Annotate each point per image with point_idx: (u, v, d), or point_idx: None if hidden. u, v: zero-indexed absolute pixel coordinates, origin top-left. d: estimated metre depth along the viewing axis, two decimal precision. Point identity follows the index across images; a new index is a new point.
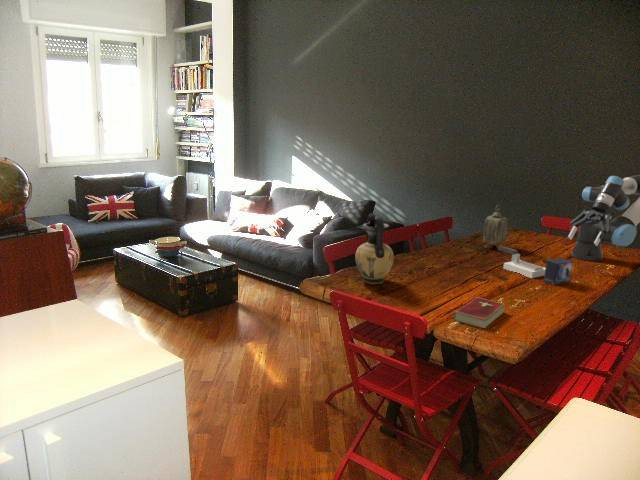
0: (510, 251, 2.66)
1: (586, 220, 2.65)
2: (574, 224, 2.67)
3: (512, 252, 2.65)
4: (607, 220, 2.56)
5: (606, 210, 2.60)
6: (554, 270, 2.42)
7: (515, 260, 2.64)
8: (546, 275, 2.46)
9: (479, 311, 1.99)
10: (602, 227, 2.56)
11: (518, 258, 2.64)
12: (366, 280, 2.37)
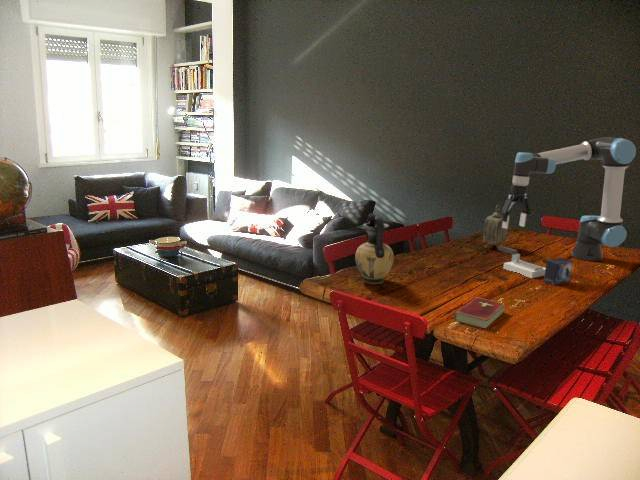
0: (510, 251, 2.66)
1: (521, 204, 2.64)
2: (522, 211, 2.69)
3: (512, 252, 2.65)
4: None
5: (513, 190, 2.59)
6: (554, 270, 2.42)
7: (515, 260, 2.64)
8: (546, 275, 2.46)
9: (480, 311, 1.99)
10: None
11: (518, 258, 2.64)
12: (366, 280, 2.37)
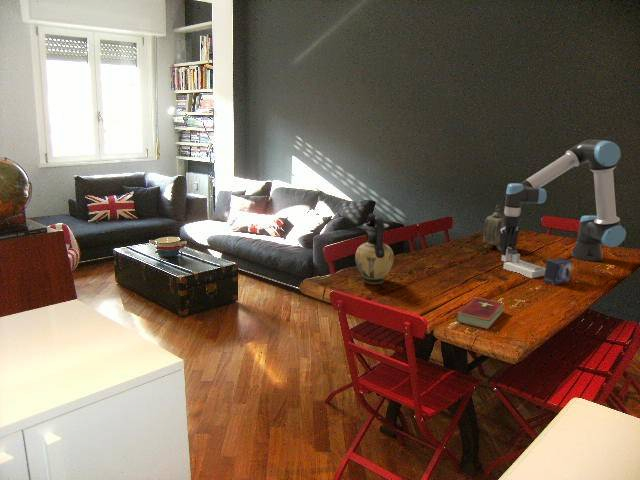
0: (510, 251, 2.66)
1: (510, 235, 2.68)
2: None
3: (512, 252, 2.65)
4: None
5: (505, 221, 2.64)
6: (554, 270, 2.42)
7: (515, 260, 2.64)
8: (546, 275, 2.46)
9: (481, 312, 1.98)
10: None
11: (518, 258, 2.64)
12: (366, 280, 2.37)
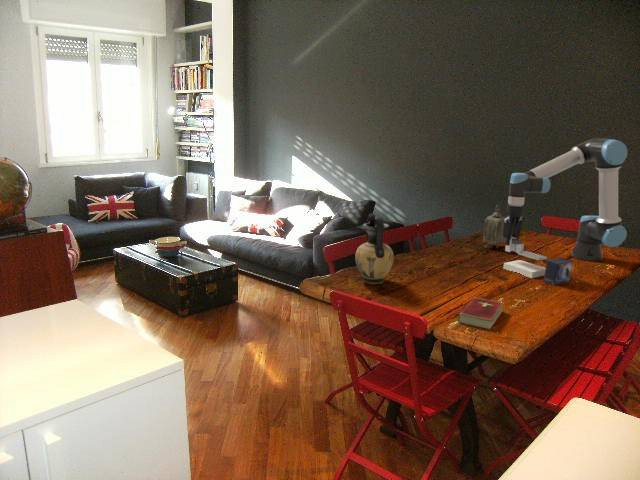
0: (514, 241, 2.64)
1: (514, 225, 2.65)
2: None
3: (516, 242, 2.63)
4: None
5: (508, 211, 2.61)
6: (554, 270, 2.42)
7: (519, 250, 2.62)
8: (546, 275, 2.46)
9: (482, 312, 1.98)
10: None
11: (522, 248, 2.61)
12: (366, 280, 2.37)
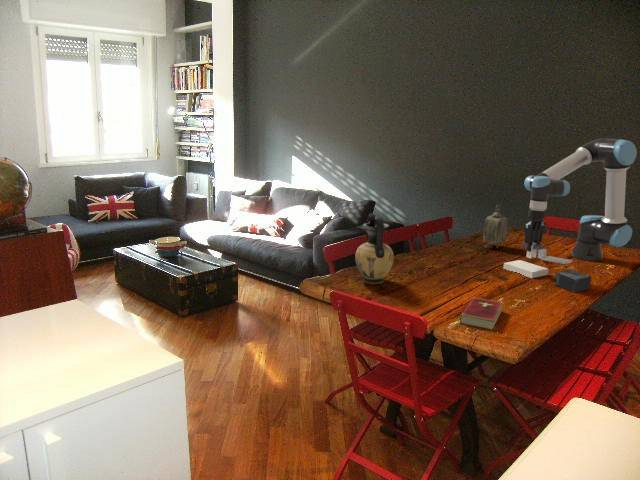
0: (536, 247, 2.53)
1: (536, 231, 2.55)
2: None
3: (538, 247, 2.52)
4: None
5: (530, 215, 2.51)
6: (567, 287, 2.36)
7: (542, 255, 2.51)
8: (561, 277, 2.38)
9: (483, 312, 1.98)
10: None
11: (545, 253, 2.51)
12: (366, 280, 2.37)
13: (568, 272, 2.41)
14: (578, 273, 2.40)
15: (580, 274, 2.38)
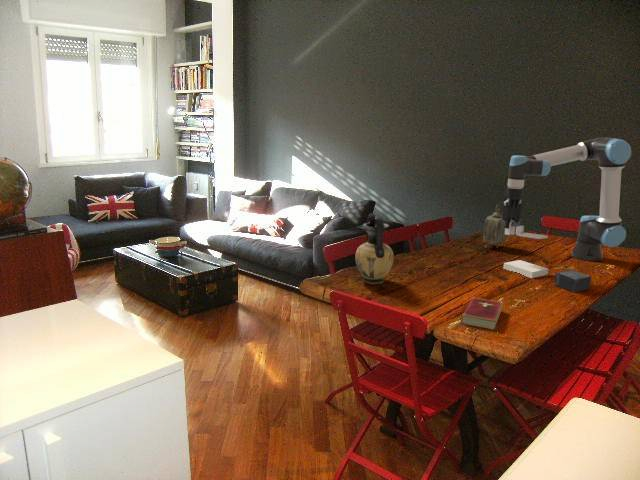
0: (513, 224, 2.63)
1: (514, 208, 2.64)
2: (512, 218, 2.67)
3: (515, 224, 2.62)
4: None
5: (508, 193, 2.60)
6: (567, 287, 2.36)
7: (519, 232, 2.60)
8: (561, 277, 2.38)
9: (484, 312, 1.98)
10: None
11: (522, 230, 2.60)
12: (366, 280, 2.37)
13: (568, 272, 2.41)
14: (578, 273, 2.40)
15: (580, 274, 2.38)
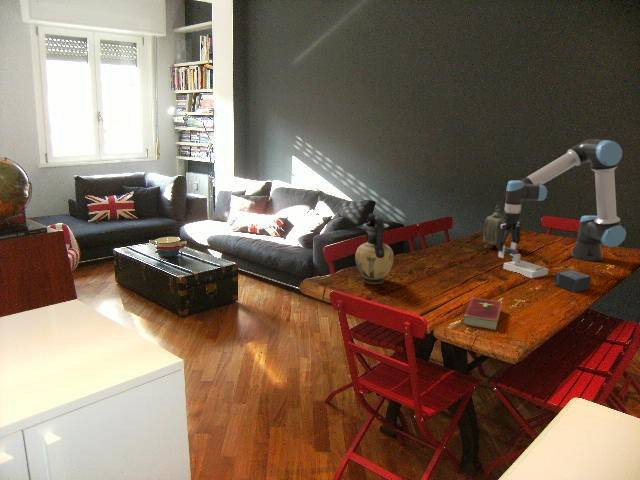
0: (511, 251, 2.66)
1: (512, 232, 2.68)
2: (513, 240, 2.72)
3: (513, 252, 2.65)
4: None
5: (505, 218, 2.64)
6: (567, 287, 2.36)
7: (516, 260, 2.64)
8: (561, 277, 2.38)
9: (485, 312, 1.98)
10: None
11: (519, 258, 2.64)
12: (366, 280, 2.37)
13: (568, 272, 2.41)
14: (578, 273, 2.40)
15: (580, 274, 2.38)
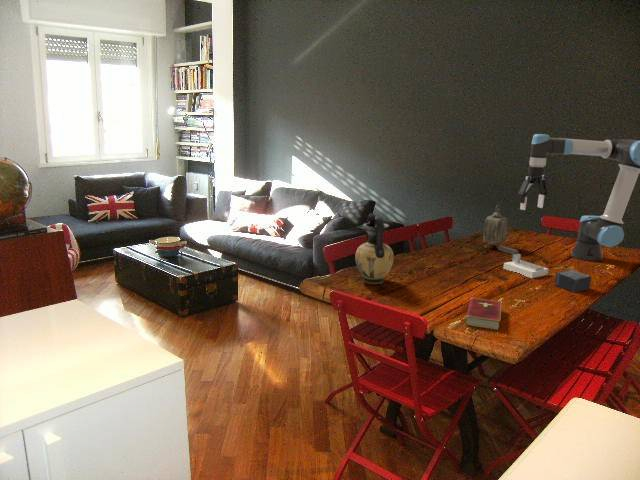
0: (511, 251, 2.66)
1: (538, 185, 2.67)
2: None
3: (513, 252, 2.65)
4: None
5: (530, 172, 2.63)
6: (567, 287, 2.36)
7: (516, 260, 2.64)
8: (561, 277, 2.38)
9: (487, 313, 1.97)
10: None
11: (519, 258, 2.64)
12: (366, 280, 2.37)
13: (568, 272, 2.41)
14: (578, 273, 2.40)
15: (580, 274, 2.38)
